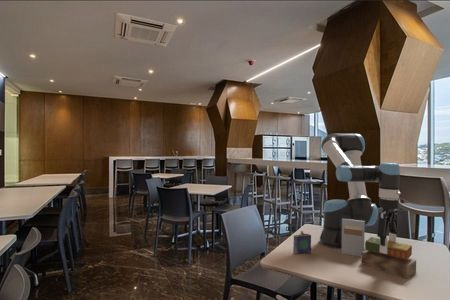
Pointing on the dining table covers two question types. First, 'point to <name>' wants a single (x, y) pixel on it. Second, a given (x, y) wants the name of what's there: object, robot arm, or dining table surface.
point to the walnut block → (389, 263)
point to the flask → (302, 244)
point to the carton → (389, 248)
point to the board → (352, 237)
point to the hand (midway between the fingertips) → (387, 250)
